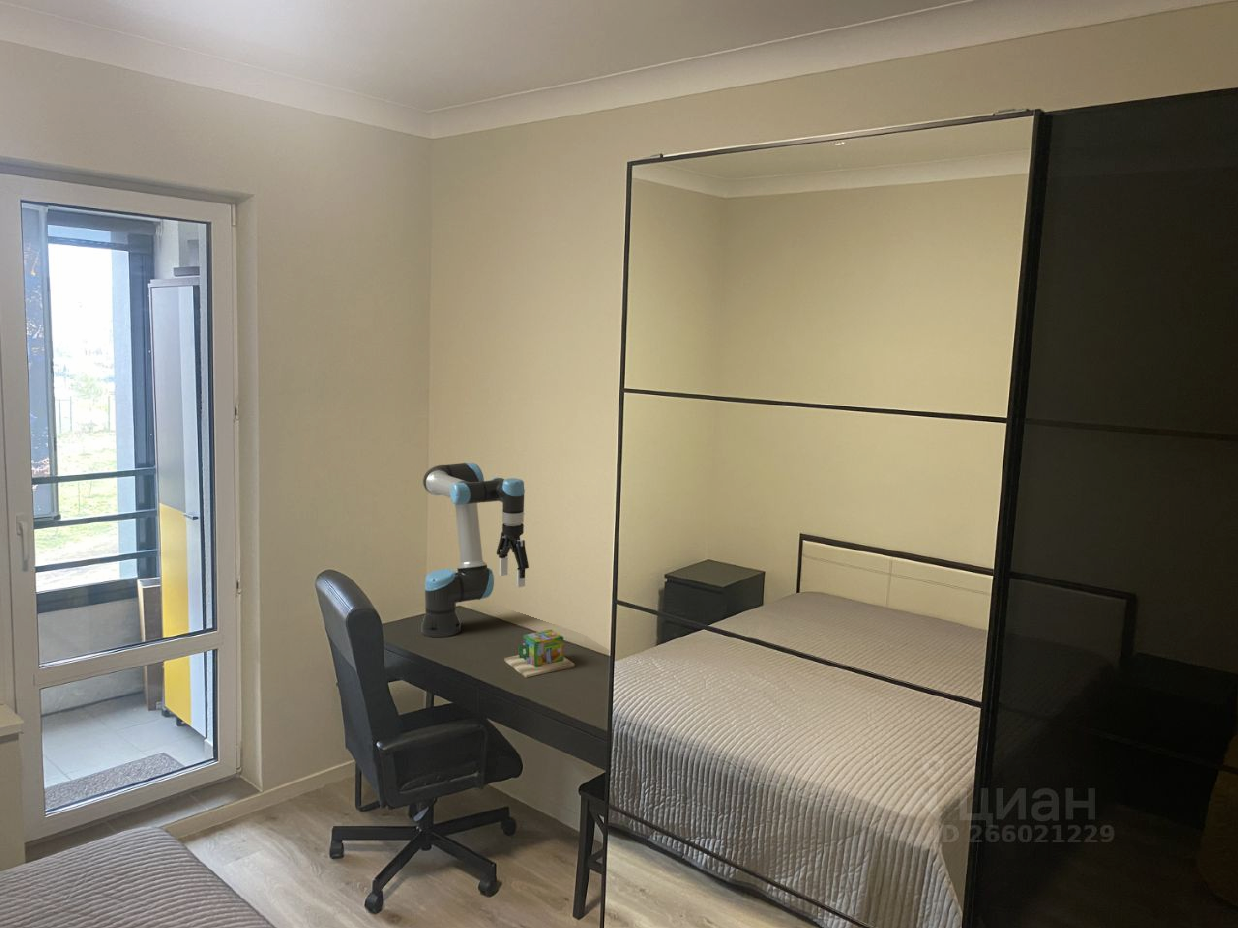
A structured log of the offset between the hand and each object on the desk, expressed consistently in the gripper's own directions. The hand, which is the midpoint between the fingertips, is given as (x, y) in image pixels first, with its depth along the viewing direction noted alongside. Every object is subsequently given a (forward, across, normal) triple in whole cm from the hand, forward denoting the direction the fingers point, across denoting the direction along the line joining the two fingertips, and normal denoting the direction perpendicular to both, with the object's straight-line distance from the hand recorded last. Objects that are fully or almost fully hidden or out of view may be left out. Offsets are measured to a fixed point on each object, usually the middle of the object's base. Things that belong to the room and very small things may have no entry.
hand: (512, 580), depth 312 cm
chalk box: (+22, -11, -13) cm, 28 cm away
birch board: (+28, -12, -5) cm, 31 cm away
